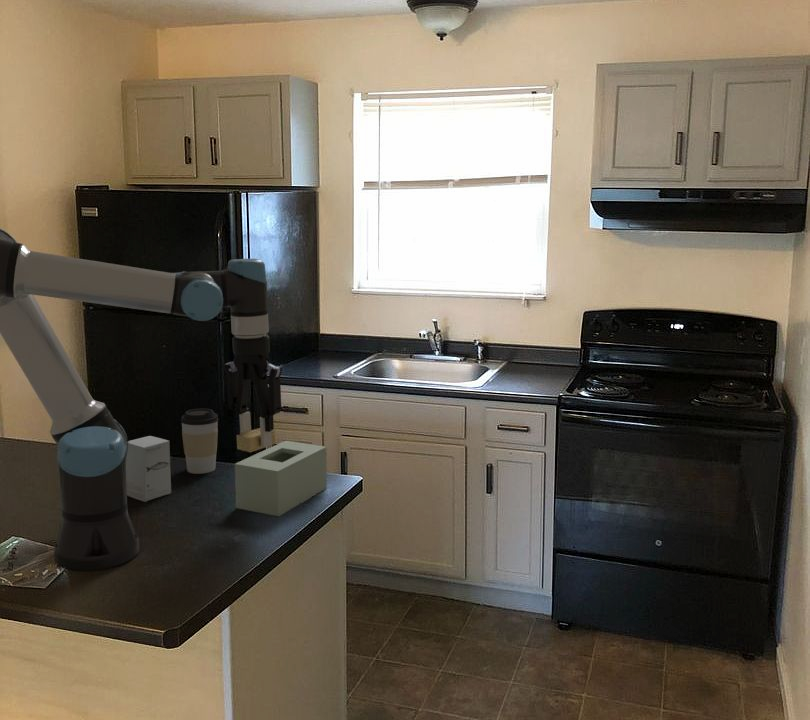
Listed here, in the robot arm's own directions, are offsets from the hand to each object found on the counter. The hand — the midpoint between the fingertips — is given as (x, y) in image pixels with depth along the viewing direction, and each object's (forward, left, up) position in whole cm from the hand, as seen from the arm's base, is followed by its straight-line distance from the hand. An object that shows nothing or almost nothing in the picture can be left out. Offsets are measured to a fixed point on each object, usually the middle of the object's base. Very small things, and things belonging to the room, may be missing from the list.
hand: (256, 444), depth 185 cm
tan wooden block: (0, 0, 0) cm, 1 cm away
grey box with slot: (+11, +1, -15) cm, 19 cm away
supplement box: (-1, +29, -16) cm, 33 cm away
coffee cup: (+19, +30, -16) cm, 39 cm away
